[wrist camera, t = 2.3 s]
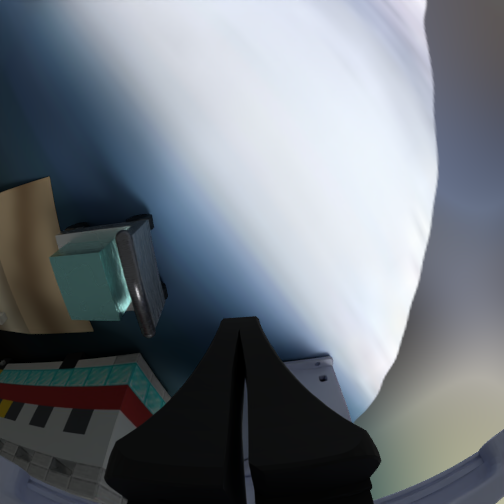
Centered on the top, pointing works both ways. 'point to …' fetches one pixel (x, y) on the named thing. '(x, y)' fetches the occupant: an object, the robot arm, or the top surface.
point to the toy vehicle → (74, 417)
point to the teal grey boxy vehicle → (110, 272)
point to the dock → (31, 263)
